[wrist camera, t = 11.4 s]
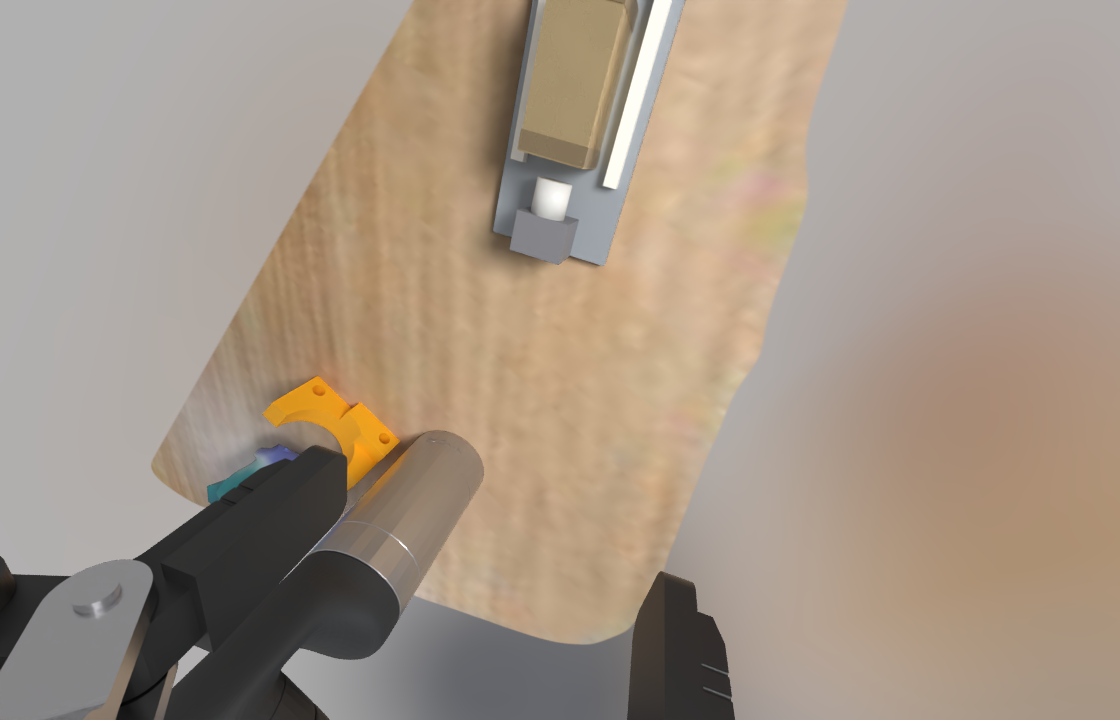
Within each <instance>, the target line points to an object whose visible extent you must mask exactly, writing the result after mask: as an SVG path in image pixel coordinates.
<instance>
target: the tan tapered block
mask: <svg viewBox="0 0 1120 720" xmlns="http://www.w3.org/2000/svg"><path fill="white" fill-rule="evenodd" d="M638 12H639V8H638V3H637V0H546V3H545V8H544V14H543V19H542V25H541V30H540V35H539V41H538V46H537V52H536V57H535V63H534V68H533V73H532V79H531V84H530V90H529V95H528V100H527V106H526V111H525V117H524V122H523V128H522V129H521V132H520V137H519V142H518V148H517V149H518V150H519V151H522V152H525V153H529V154H532V155H536V156H539V157H543V158H546V159H549V160H553V161H556V162H560V163H563V164H567V165H570V166H574V167H577V168H580V169H596V168H597V166H598V162H599V158H600V154H601V148H602V144H603V140H604V137H605V133H606V129H607V125H608V122H609V118H610V114H611V110H612V107H613V103H614V99H615V95H616V92H617V88H618V84H619V80H620V77H621V73H622V69H623V65H624V62H625V58H626V54H627V50H628V47H629V43H630V39H631V35H632V32H633V31H634V27H635V23H636V19H637V16H638Z"/></svg>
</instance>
